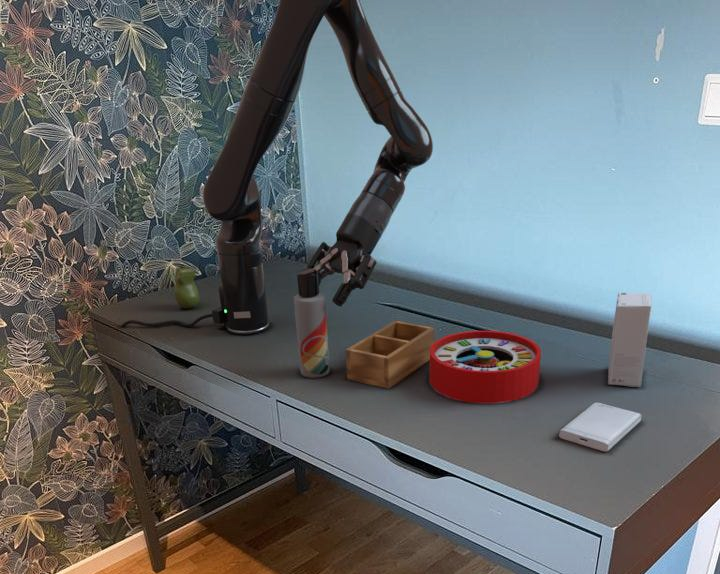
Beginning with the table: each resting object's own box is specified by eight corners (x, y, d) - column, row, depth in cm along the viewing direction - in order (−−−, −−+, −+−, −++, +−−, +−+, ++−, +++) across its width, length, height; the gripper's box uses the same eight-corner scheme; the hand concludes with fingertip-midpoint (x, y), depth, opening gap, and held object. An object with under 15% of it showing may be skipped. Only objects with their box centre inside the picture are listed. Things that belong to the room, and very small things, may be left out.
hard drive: (594, 401, 130) (559, 428, 122) (642, 413, 125) (608, 443, 117) (593, 410, 131) (558, 438, 123) (640, 423, 126) (607, 452, 118)
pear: (192, 302, 189) (186, 261, 184) (205, 307, 186) (199, 265, 180) (173, 308, 185) (166, 267, 180) (186, 313, 182) (179, 271, 177)
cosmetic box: (640, 388, 137) (653, 307, 129) (605, 385, 139) (616, 305, 131) (641, 369, 144) (653, 291, 136) (607, 367, 146) (617, 290, 138)
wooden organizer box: (347, 379, 146) (345, 349, 143) (395, 348, 158) (394, 320, 155) (388, 389, 141) (388, 358, 138) (434, 356, 154) (435, 327, 150)
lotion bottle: (325, 379, 146) (318, 274, 136) (296, 377, 147) (287, 274, 137) (332, 367, 151) (326, 265, 141) (304, 365, 152) (296, 264, 142)
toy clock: (564, 358, 135) (464, 381, 129) (560, 389, 138) (463, 412, 132) (502, 323, 151) (410, 342, 145) (500, 351, 154) (411, 371, 148)
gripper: (328, 207, 146) (285, 281, 145) (380, 217, 136) (334, 296, 136) (351, 230, 151) (309, 301, 151) (401, 242, 142) (358, 317, 142)
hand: (321, 299), depth 144 cm, fingers open, 8 cm apart
